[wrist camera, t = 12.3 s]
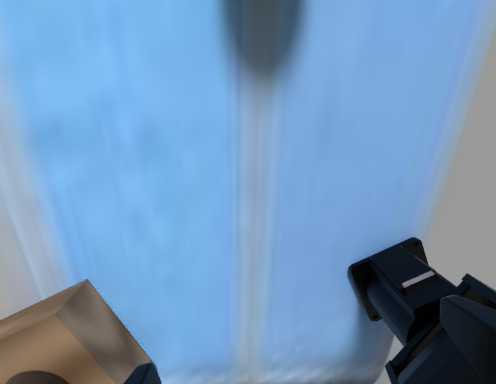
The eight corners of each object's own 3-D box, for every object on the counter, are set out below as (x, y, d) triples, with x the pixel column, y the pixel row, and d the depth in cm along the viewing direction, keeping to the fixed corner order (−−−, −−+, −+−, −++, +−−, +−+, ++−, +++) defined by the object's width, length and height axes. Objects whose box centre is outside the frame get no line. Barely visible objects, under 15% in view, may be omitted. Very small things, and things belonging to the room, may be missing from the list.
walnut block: (156, 367, 24) (142, 414, 20) (58, 410, 25) (26, 464, 21) (87, 279, 21) (54, 314, 17) (-23, 331, 22) (-78, 376, 18)
